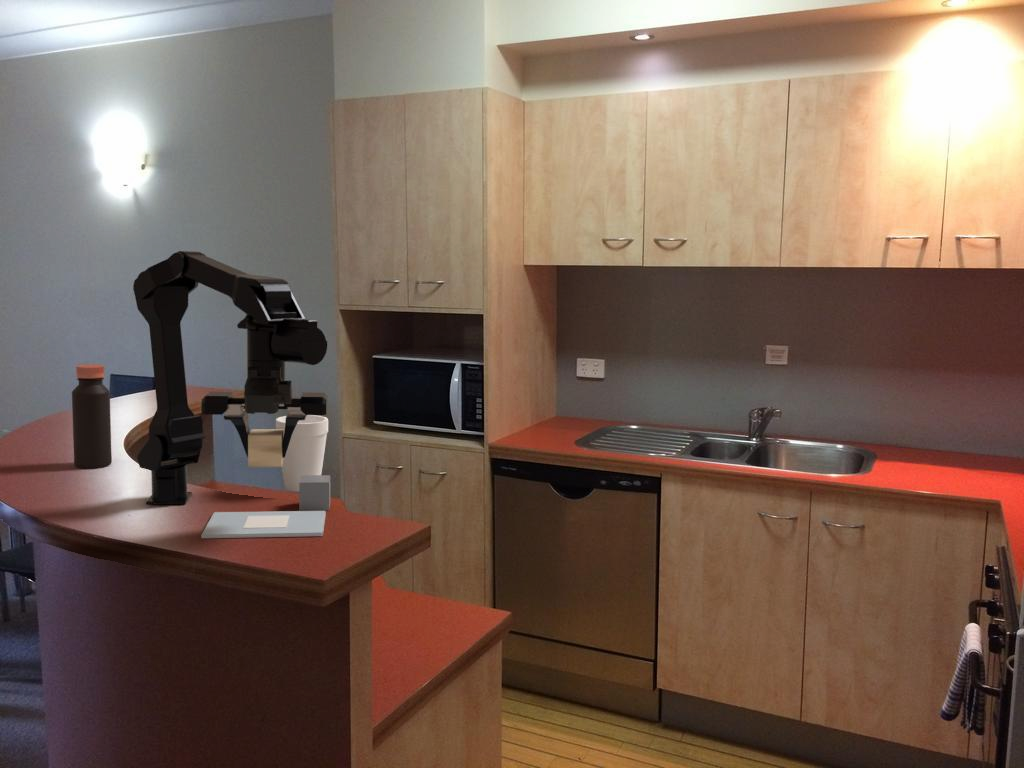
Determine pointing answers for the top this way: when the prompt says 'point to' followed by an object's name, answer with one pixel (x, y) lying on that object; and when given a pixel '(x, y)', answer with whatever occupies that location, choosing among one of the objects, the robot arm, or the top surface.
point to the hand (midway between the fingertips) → (266, 457)
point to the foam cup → (304, 449)
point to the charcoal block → (314, 492)
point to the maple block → (265, 448)
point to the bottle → (91, 419)
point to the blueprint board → (265, 524)
